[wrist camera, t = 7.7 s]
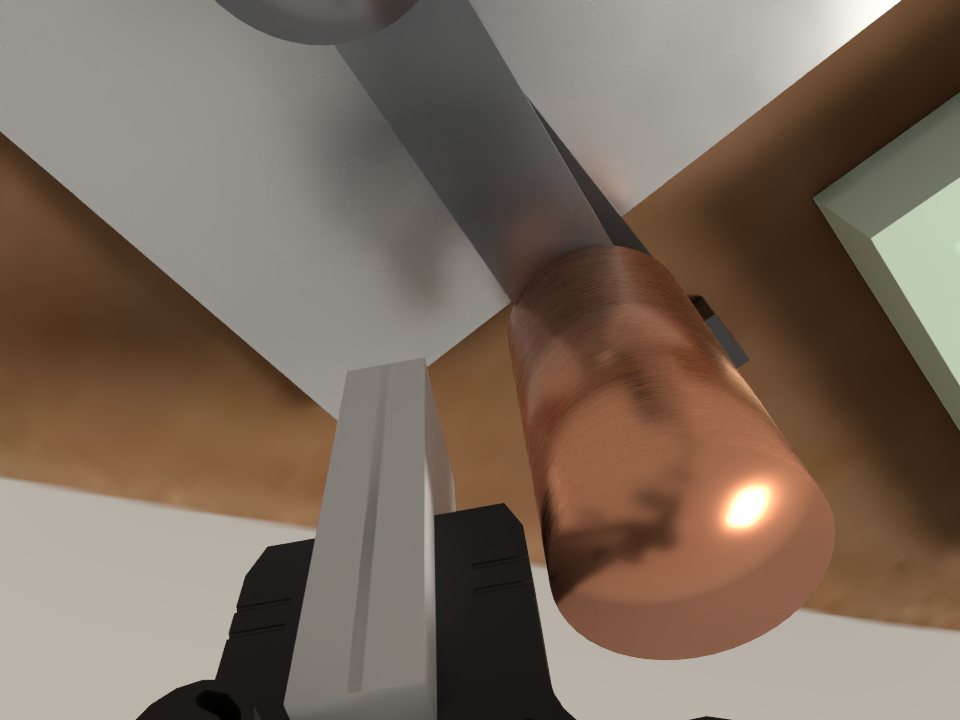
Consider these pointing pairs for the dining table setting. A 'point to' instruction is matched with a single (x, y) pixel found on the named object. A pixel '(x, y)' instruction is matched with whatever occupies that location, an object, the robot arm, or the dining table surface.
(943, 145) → the tray
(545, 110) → the crank plate
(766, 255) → the dining table surface
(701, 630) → the crank
